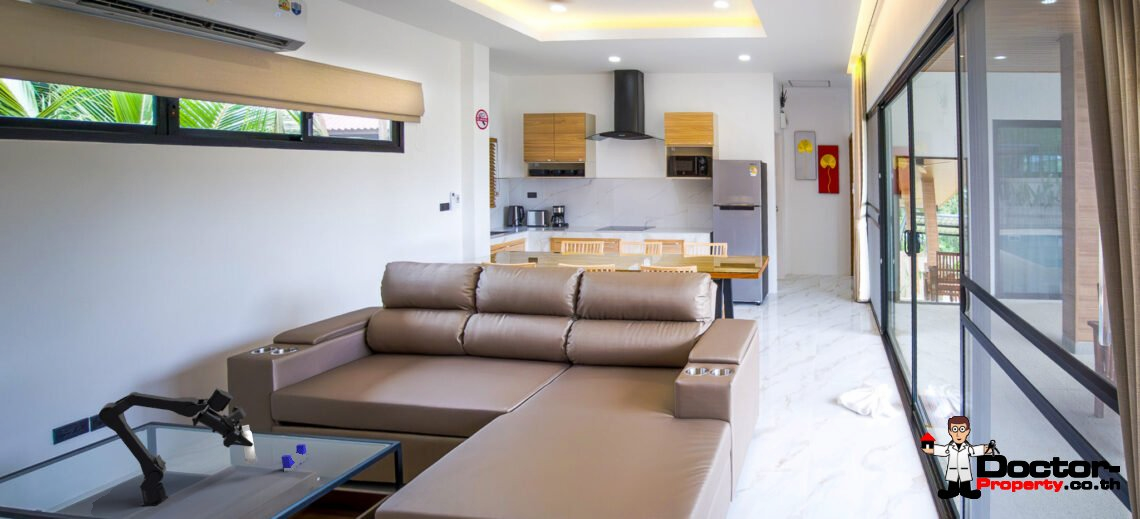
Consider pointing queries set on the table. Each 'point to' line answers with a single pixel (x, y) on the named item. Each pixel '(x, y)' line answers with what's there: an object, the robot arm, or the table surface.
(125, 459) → the table surface
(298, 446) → the blue blocks
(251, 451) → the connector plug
